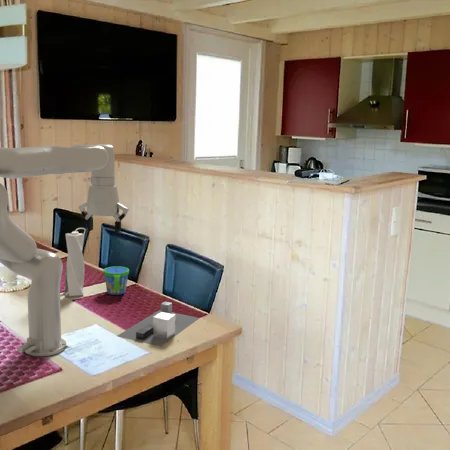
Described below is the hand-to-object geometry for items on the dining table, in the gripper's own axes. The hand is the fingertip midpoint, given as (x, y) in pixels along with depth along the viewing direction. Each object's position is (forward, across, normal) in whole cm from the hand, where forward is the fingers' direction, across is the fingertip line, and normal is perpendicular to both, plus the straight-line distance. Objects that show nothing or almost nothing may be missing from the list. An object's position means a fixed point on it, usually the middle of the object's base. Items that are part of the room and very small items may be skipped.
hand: (103, 231), depth 176 cm
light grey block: (+33, +23, -6) cm, 41 cm away
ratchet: (+33, +19, -1) cm, 38 cm away
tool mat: (+34, +20, +1) cm, 39 cm away
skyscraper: (+34, -23, +27) cm, 50 cm away
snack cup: (+34, -8, +33) cm, 49 cm away
